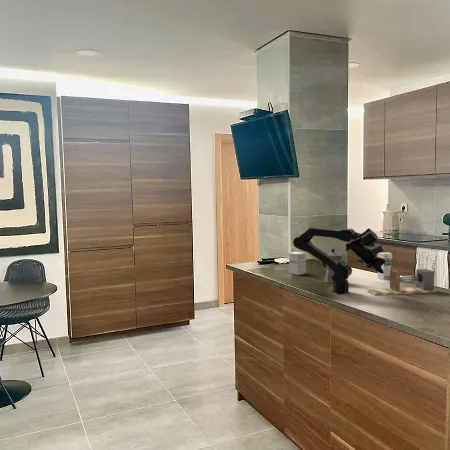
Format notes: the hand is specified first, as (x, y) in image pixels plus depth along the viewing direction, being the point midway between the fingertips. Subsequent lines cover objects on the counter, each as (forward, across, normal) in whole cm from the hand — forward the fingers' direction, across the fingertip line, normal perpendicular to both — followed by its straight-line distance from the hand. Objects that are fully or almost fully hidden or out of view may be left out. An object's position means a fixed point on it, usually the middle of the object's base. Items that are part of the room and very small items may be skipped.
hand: (382, 272), depth 215 cm
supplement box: (-11, +57, +26) cm, 63 cm away
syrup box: (+19, +32, -5) cm, 37 cm away
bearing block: (+21, 0, -9) cm, 23 cm away
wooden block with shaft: (+14, 0, -2) cm, 14 cm away
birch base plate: (+14, 0, 0) cm, 14 cm away
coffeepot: (-3, +30, +18) cm, 35 cm away
